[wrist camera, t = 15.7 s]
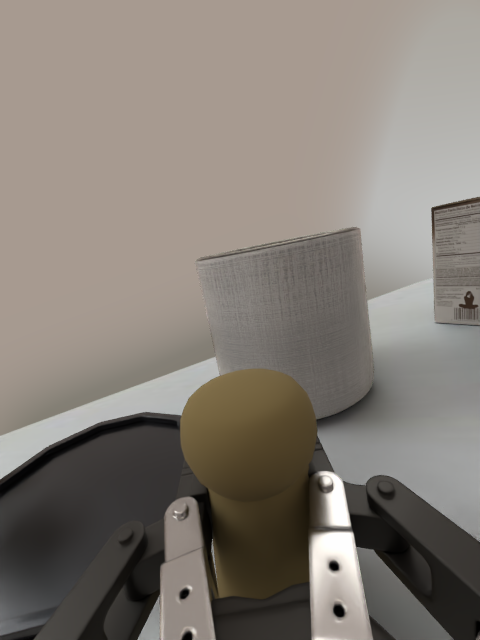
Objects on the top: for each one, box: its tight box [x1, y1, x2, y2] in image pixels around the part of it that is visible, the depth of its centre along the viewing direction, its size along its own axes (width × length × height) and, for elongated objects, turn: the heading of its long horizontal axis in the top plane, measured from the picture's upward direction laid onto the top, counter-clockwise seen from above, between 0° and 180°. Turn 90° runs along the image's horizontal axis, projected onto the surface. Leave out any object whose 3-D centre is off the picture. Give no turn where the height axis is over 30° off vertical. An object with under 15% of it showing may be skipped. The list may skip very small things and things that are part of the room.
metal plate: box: [0, 412, 185, 640], centre depth 21 cm, size 18×18×1 cm
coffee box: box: [431, 197, 480, 325], centre depth 40 cm, size 9×6×16 cm
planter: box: [195, 227, 374, 420], centre depth 30 cm, size 16×16×16 cm
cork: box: [180, 368, 317, 599], centre depth 12 cm, size 6×6×11 cm
